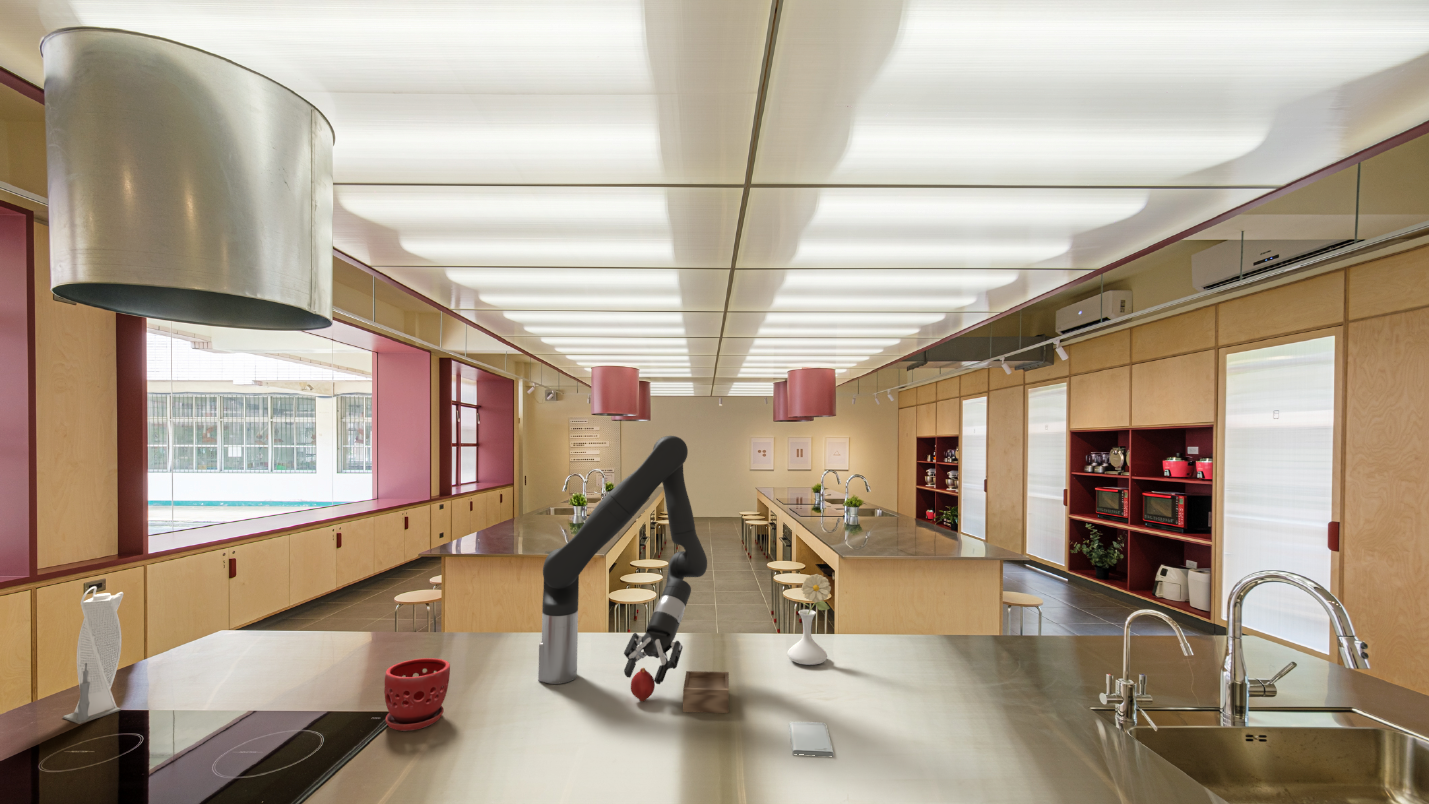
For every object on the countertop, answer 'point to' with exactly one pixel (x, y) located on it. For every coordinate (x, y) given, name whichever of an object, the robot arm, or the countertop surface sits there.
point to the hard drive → (810, 739)
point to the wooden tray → (706, 692)
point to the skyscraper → (97, 656)
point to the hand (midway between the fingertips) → (641, 679)
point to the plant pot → (415, 693)
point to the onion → (642, 685)
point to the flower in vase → (807, 648)
